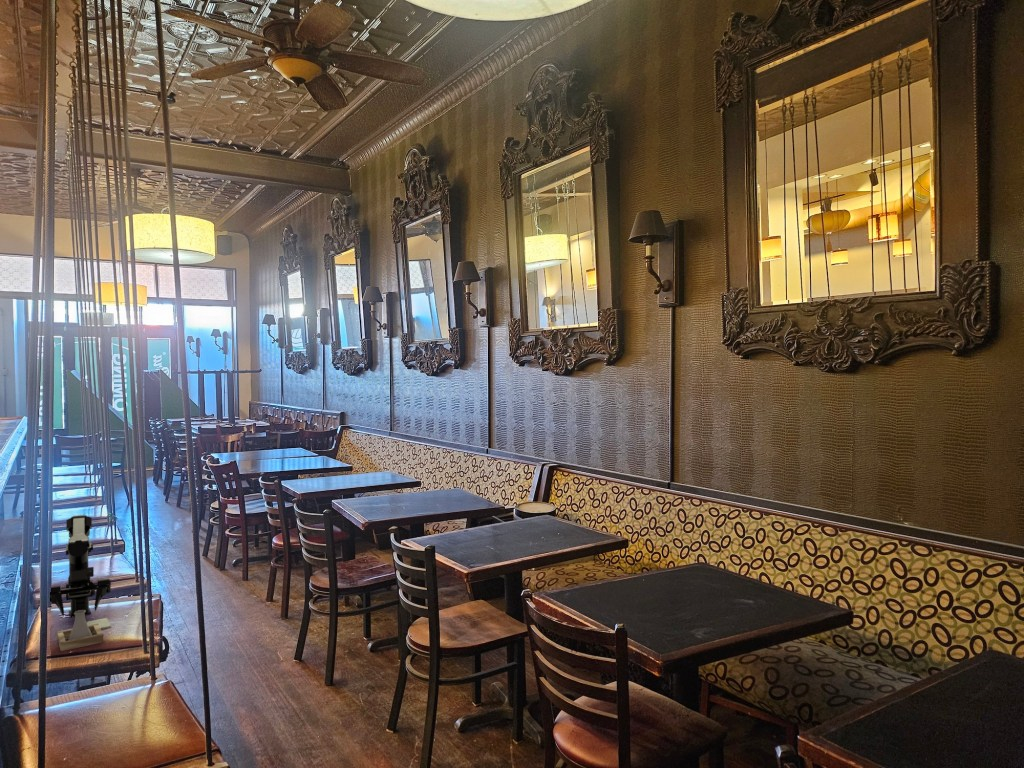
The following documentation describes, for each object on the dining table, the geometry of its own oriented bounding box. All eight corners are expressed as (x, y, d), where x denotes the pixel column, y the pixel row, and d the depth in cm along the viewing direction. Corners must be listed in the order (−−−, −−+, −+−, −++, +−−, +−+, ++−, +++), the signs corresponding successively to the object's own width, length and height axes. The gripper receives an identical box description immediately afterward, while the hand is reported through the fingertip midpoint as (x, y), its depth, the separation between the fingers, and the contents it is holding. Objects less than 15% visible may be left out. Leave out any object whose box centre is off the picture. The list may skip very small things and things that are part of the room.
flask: (83, 645, 226) (83, 615, 226) (62, 644, 227) (62, 615, 226) (97, 636, 234) (97, 607, 233) (76, 636, 234) (76, 607, 233)
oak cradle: (57, 638, 231) (56, 631, 231) (98, 630, 238) (98, 623, 238) (60, 651, 222) (60, 643, 222) (103, 642, 229) (103, 634, 229)
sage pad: (77, 625, 243) (77, 623, 243) (106, 619, 248) (106, 617, 248) (81, 633, 236) (81, 631, 236) (111, 627, 241) (110, 625, 241)
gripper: (46, 563, 230) (45, 606, 221) (110, 555, 240) (111, 596, 231) (47, 580, 237) (46, 622, 228) (109, 572, 247) (111, 611, 238)
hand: (79, 612), depth 231 cm, fingers open, 9 cm apart
